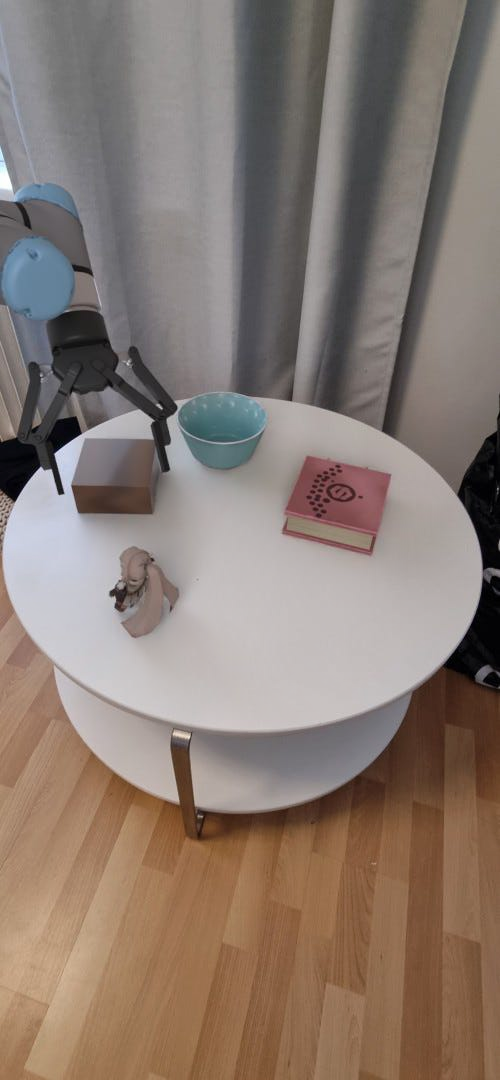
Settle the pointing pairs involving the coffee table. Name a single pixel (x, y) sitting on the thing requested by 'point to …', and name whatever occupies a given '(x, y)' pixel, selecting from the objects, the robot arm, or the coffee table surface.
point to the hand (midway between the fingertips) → (115, 482)
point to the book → (337, 505)
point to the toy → (134, 579)
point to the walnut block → (116, 476)
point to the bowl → (222, 427)
